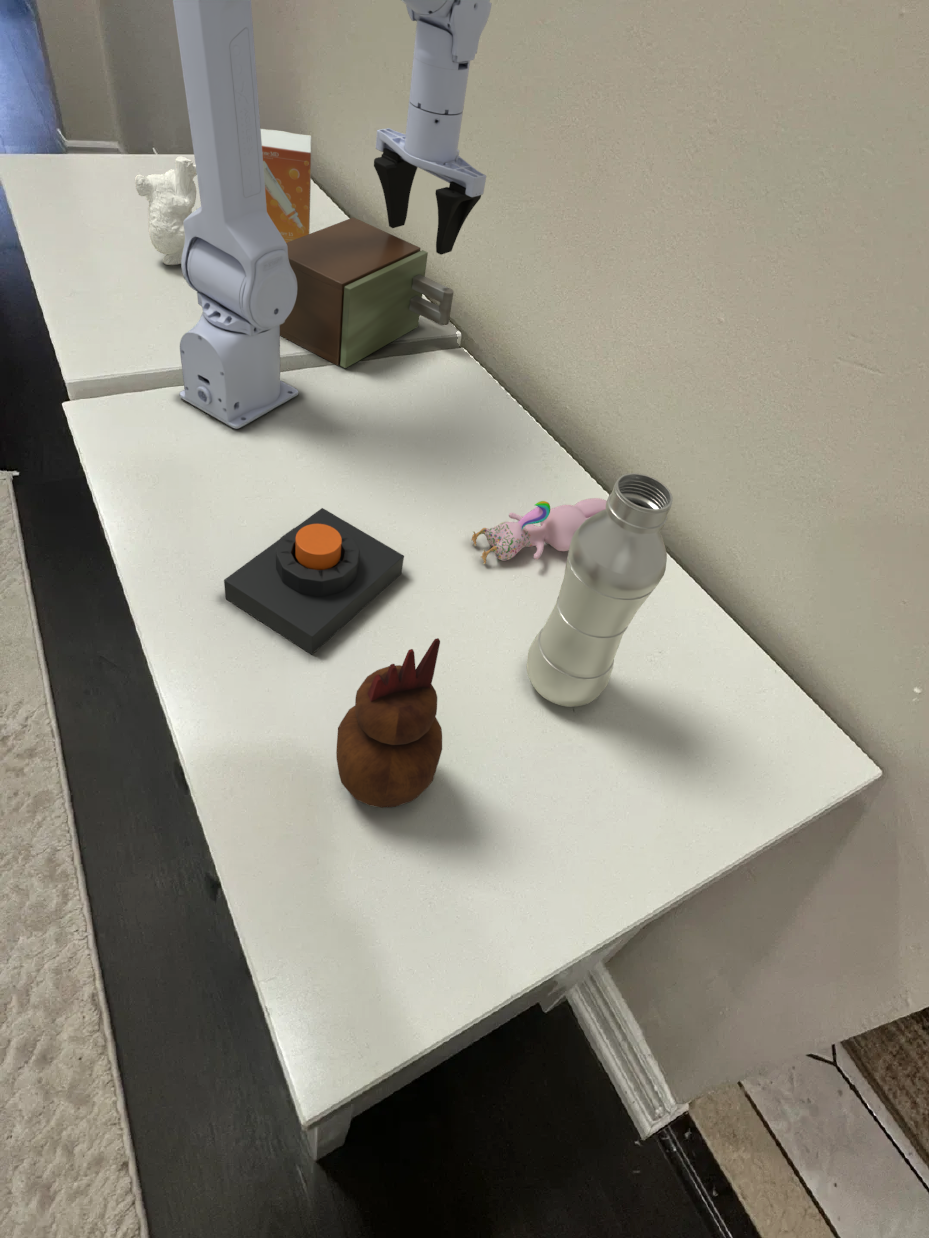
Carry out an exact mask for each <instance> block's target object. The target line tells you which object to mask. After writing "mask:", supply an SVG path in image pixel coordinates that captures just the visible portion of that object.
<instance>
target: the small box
mask: <svg viewBox="0 0 929 1238" xmlns="http://www.w3.org/2000/svg"><path fill="white" fill-rule="evenodd" d="M312 137H313V136H312V135H310V134H309V135H308V134H301V133H294V132H289V131H283V130H276V129H267V128H266V129H265V128H261V141H262V155H263V168H264V182H265V195H266V208H267V213H268V215H269V217H270V218H271V220H272V222H273V223H274V225H275V226H276V228H277V229H278V231H279V232H280V234H281V236H282V237H283V239H284V240H285V242H286V243H287V242H290V241H292V240H295V239H298V238H300V237H303V236H306V235H308V234H310V231H311V229H310V228H311V227H310V226H311V189H312V186H311V185H312V149H313V148H312V146H313V145H312V144H313V143H312V142H313V138H312Z"/></svg>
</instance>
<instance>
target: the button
mask: <svg viewBox="0 0 929 1238" xmlns="http://www.w3.org/2000/svg"><path fill="white" fill-rule="evenodd" d="M341 544H342V539H341V536H340V534H339V532H338V531H337V530H336V529H334V528H333V527H331V526H328V525H324V524H310V525H307V526H305V527H303V528H301V529H300V530H299V531H298V533H297V534H296V548H295V555H296V558H297V560H298V561H299V563H300V564H301V565H303V566H305V567H307V568H309V569H314V570H325V569H329V568H331V567H333V566H335V565H336V564H337V563H338V562H339V560H340V557H341Z"/></svg>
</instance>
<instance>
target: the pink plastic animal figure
mask: <svg viewBox="0 0 929 1238" xmlns="http://www.w3.org/2000/svg"><path fill="white" fill-rule="evenodd" d="M606 502H607V500H606V499H603V498H600V497H594V498H593V497H592V498H586V499H582V500H579V501H577V502H576V503H575V504H574V505H573V504H562V505H558V506H554V507H552V508H551V504H550V503H549V502H548V501H546V500H541V501H538V502H536V503H535V504H534V507H535V506H536V507H535V508H533V509H531V510H530V511H529V512H526V514H524V515H523V516H522V515H520V514H517V513H515V512H509V513H508V517H509V518H510V519H513V520H516V522H515V521H503V522H500V523H499V524H497V525H495V526H493V527H490V528H487V527H482V528H481V530H479V531H478V532H476V531H472V532H473V534H472V536H471V541H472V542H473V543H472V546H474V547H476V546H477V540H478V537H479V536H480V535H484V536H485V538H486V541H487V544H488V545H490V546H491V548H490V549H488V550H486V549H482V553H481V556H480V558H481V559H482V561H483V562H482V565H486V564H487V558H488V555H489V554H490V553H492V552H493V553H494V556H495V558H496V559H498V560H500V561H502V562H503V561H505V562H506V561H509V560H511V559H513V558H514V557H516V555H517V554H519V552H520V551H521V550H522V549H523V548H525V547H527V548H532V547H536V552H535V553H533V559H534V560H540V558H541V556H542V554H543V552H544V547H545V544H548V545H549V546H550V547H551V548H553V549H555V550H557V551H558V552H569V546H570V543H571V539H572V537H573V535H574V532H575V531H576V530H577V529H578V528H579V527H580V526H581V524H582V523H583V522H584V521H585V520H587V519H588V518H590V517H592V516H593V515H595V514H597V513H598V512H600V511H602V510H605V509H606ZM539 523H540V526H538V525H535V524H539Z"/></svg>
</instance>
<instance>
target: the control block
mask: <svg viewBox="0 0 929 1238" xmlns="http://www.w3.org/2000/svg"><path fill="white" fill-rule="evenodd" d="M310 524H324V525H328V526H331V527H333V528H334V529H336V530H337V531H338V532H339V534H340V536H341V539H342V544H341V557H340V560H339V562H338V563H337V564H336V565H335V566H333V567H331V568H329V569H325V570H314V569H309V568H307V567H305V566H303V565H301V564H300V563H299V561H298V560H297V558H296V555H295V548H296V534H297V533H298V531H299V530H300V529H301V528H303V527H305V526H307V525H310ZM404 559H405V555H403V554H402V553H401V552H399V551H397V550H395V549H393V548H392V547H390V546H388V545H387V544H385V543H383V542H381V540H378V539H377V538H375V537H373V536H372V535H369V534H368V533H366V532H365V531H363V530H361V529H359V528H358V527H356V526H354V525H353V524H350V523H349V522H347V521H346V520H344V519H342V518H340V517H339V516H337V515H336V514H333V513H332V512H330V511H328V510H327V509H325V508H323V507H321V508H320V509H319V510H317V511H316V512H314V513H313V514H312V515H310V516H309V517H308V518H306V519H305V520H303V521H302V522H300V523H299V524H298V525H297V526H295V527H293V528H292V529H290V530H289V531H288V532H286V533H285V534H283V536H281V537H280V538H279V539H278V540H277V541H275V542H273V543H272V544H271V545H269V546H268V547H266V548H265V549H264V550H263V551H261V552H260V553H258V554H257V555H255V556H254V557H253V558H251V559H250V560H249V561H247V562H246V563H245V564H244V565H242V566H241V567H239V568H238V569H236V570H235V571H234V572H233V573H231V574H229V576H227V577H226V578H224V579H223V585H224V586H223V587H224V596H225V599H226V600H227V601H229V602H230V603H231V604H233V605H235V606H236V607H238V608H239V609H241V610H242V611H244V612H245V613H247V614H248V615H250V616H252V617H253V618H255V619H256V620H258V621H259V622H261V623H262V624H264V625H265V626H266V627H268V628H270V629H272V630H273V631H275V632H276V633H277V634H279V635H280V636H282V637H284V638H285V639H287V640H288V641H290V642H291V643H293V644H294V645H296V646H298V647H299V648H301V649H302V650H303V651H305V652H307V653H308V654H310V655H313V654H315V653H316V652H317V651H318V650H319V649H320V648H321V647H322V646H323V645H324V644H325V643H327V641H329V640H330V639H331V638H332V637H333V636H334V635H335V634H337V633H338V632H339V631H340V630H341V629H342V628H344V626H345V625H347V623H349V622H350V621H351V620H352V619H353V618H354V617H355V616H356V615H357V614H359V613H360V612H361V611H362V610H363V609H364V608H366V606H367V605H368V604H370V602H372V601H373V600H374V599H375V598H376V597H378V595H380V594H381V593H382V592H383V591H384V590H385V589H386V588H387V587H388V586H389V585H391V584H392V583H393V582H394V581H395V580H396V579H398V577H399V576H401V574H402V571H403V566H404Z"/></svg>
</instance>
